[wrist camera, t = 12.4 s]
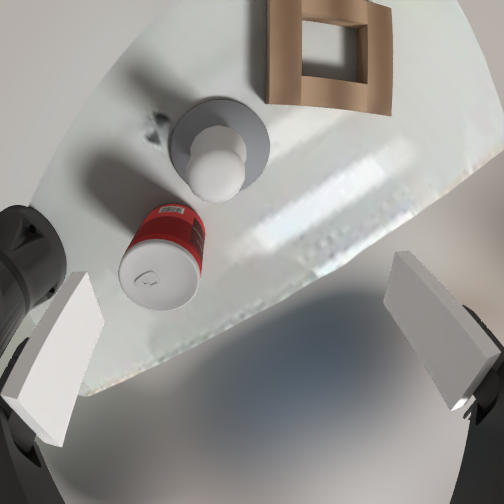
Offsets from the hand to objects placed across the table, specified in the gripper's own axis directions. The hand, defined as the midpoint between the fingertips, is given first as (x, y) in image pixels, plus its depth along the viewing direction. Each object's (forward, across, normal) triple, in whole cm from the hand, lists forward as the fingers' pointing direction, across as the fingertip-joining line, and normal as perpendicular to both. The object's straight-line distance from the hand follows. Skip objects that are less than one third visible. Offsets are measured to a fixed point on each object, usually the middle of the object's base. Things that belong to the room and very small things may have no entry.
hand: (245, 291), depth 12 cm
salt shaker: (+24, -1, +2) cm, 24 cm away
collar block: (+24, +11, +14) cm, 30 cm away
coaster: (+24, -1, +2) cm, 24 cm away
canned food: (+24, -7, -8) cm, 26 cm away
